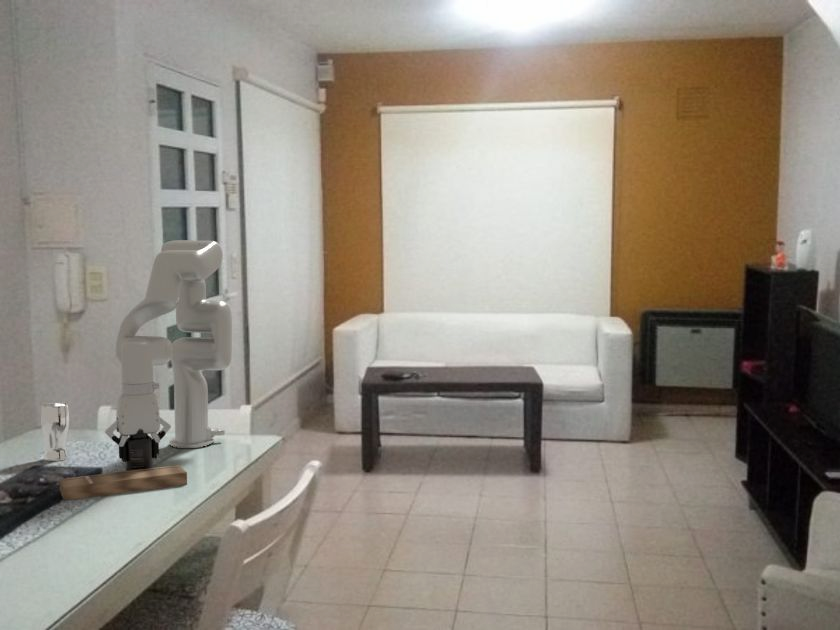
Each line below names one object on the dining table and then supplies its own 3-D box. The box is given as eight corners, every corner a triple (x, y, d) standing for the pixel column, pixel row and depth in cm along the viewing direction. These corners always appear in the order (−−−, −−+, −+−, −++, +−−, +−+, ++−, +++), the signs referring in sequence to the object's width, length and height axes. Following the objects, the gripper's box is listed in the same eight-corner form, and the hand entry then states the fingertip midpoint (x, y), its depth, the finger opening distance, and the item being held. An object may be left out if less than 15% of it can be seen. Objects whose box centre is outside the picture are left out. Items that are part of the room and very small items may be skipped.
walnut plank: (179, 476, 214) (178, 464, 214) (187, 484, 208) (186, 471, 207) (59, 491, 201) (59, 478, 200) (64, 500, 194) (63, 487, 194)
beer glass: (74, 455, 235) (73, 402, 234) (61, 462, 228) (60, 407, 227) (51, 455, 235) (49, 402, 234) (37, 461, 229) (35, 406, 227)
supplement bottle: (159, 471, 216) (158, 425, 215) (140, 478, 210) (139, 430, 209) (138, 468, 219) (137, 422, 218) (119, 474, 212) (118, 427, 211)
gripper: (169, 384, 220) (170, 452, 221) (98, 389, 211) (100, 460, 213) (176, 388, 213) (177, 458, 215) (103, 394, 205) (105, 466, 206)
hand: (139, 458), depth 214 cm, fingers closed on supplement bottle, 6 cm apart
